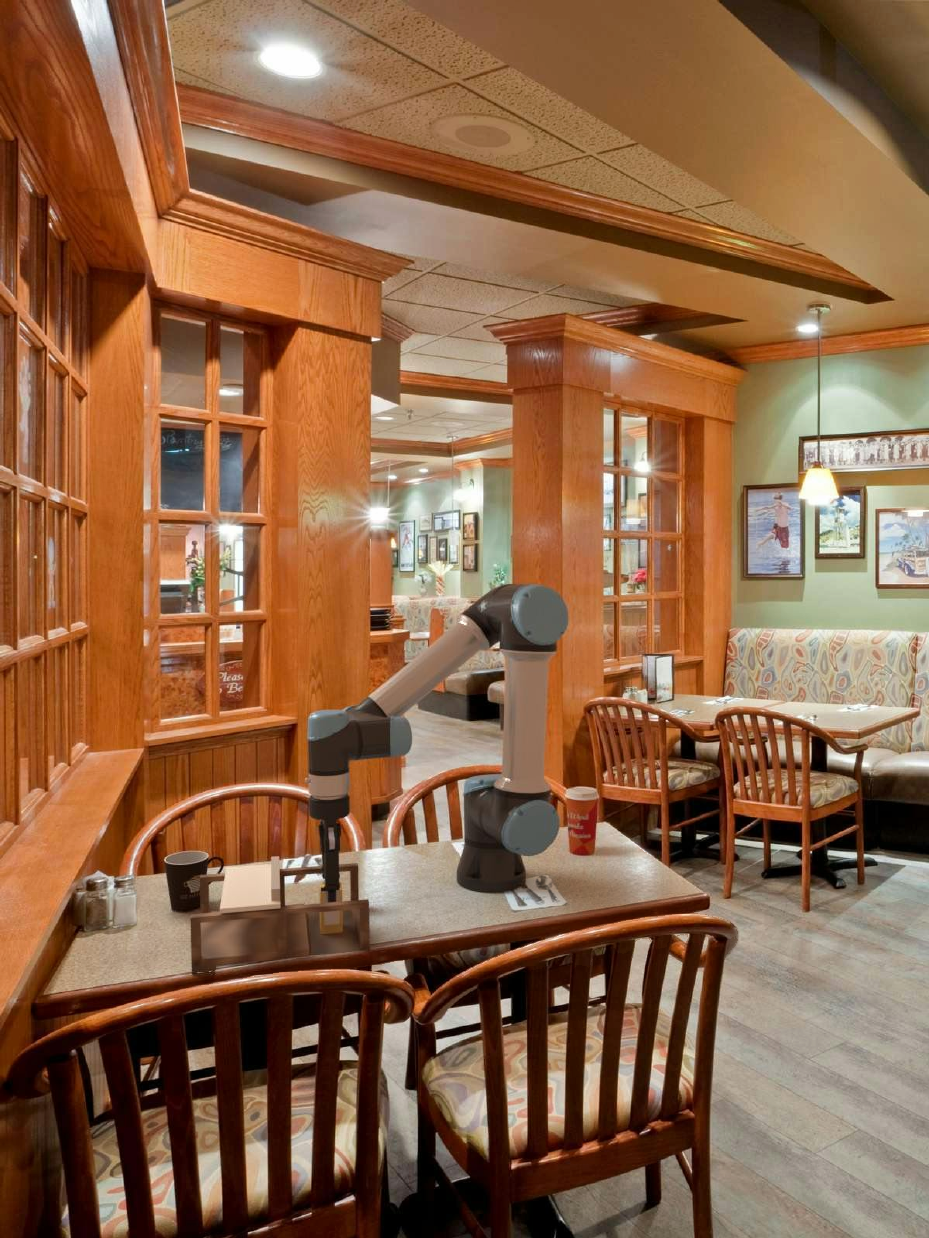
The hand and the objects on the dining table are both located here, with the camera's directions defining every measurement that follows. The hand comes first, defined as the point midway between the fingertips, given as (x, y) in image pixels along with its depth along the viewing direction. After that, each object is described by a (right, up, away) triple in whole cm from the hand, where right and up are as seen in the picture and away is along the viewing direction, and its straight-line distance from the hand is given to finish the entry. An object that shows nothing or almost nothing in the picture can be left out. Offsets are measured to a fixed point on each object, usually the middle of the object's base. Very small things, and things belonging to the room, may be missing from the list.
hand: (331, 918), depth 165 cm
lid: (-14, +7, -3) cm, 16 cm away
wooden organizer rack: (-9, -3, -2) cm, 10 cm away
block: (0, -2, 0) cm, 2 cm away
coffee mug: (-30, -3, +16) cm, 34 cm away
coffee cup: (+53, 0, +48) cm, 72 cm away
